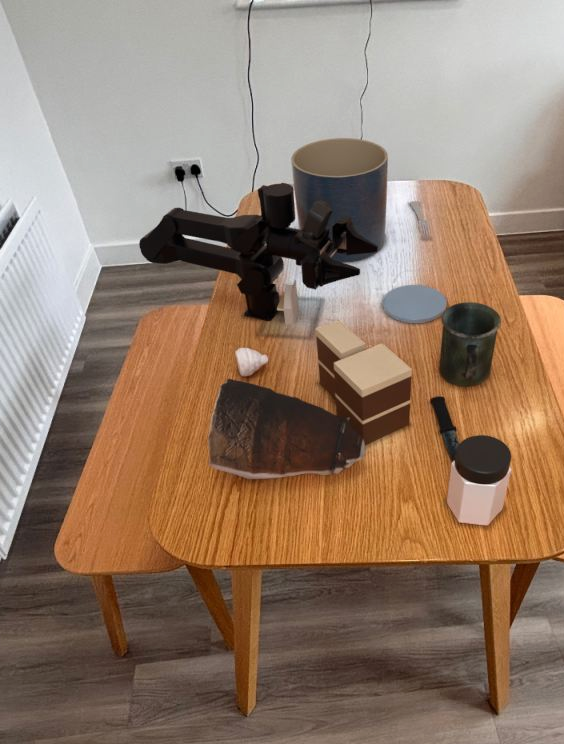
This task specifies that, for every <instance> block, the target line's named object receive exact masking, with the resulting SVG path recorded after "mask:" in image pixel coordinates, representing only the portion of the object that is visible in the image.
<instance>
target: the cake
mask: <svg viewBox="0 0 564 744" xmlns="http://www.w3.org/2000/svg"><path fill="white" fill-rule="evenodd" d="M412 374H413V369H412V368H411V366H410V365H408V364H407V363H405V362H404V361H403V360H402V359H401V358H400V357H399V356H398V355H396V354H395V353H394V352H393V351H392V350H391V349H389V347H388V346H386V345H385V344H384V343H382V342H381V343H379V344H376V345H374V346H371V347H369V348H367V349H366V348H365V350H364V351H361V352H359V353H356V354H354V355H351V356H349V357H346V358H344V359H341V360H339V361H336V362H334V378H335V396H336V400H335V408H336V409H335V410H336V416H338V417H339V418H345V417H350V419H349V425H350V426H351V427H352V428H354V429H355V430H356V431H357V432H358V434H359V435H360V436H361V437H362V438H363V440H364V443H365V446H366V445H369V444H371V443H373V442H375V441H377V440H379V439H382V438H384V437H387V436H388V435H390V434H393V433H394V432H397V431H400V430H401V429H404V428H405V427H408V426H410V413H411V396H412V395H411V394H412V376H413V375H412Z"/></svg>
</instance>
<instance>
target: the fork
mask: <svg viewBox="0 0 564 744" xmlns="http://www.w3.org/2000/svg"><path fill="white" fill-rule="evenodd" d="M409 204H410V207H411V208H412V209H413V211H414V212H415V214H416V216H417V219H418V220H416V221H417V223H418V227H419V230H420V233H421V234H420V235H421V238H422V239H424V240H425V241H426V240H428V239H429V240H431V231H430V221H429V220H428V219H423V218H422V217H423V216H422V214H421V206H420V205H421V204H420V203H419V201H410V202H409Z"/></svg>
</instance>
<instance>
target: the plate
mask: <svg viewBox="0 0 564 744" xmlns="http://www.w3.org/2000/svg"><path fill="white" fill-rule="evenodd" d="M447 303H448V301H447V298H446V296H445V295H444V294H443V293H442V292H441V291H440V290H438V289H436V288H434V287H431V286H427V285H422V284H407V285H401V286H398V287H395V288H393V289H391V290H389V291H388V292H386V294H385V296H384V297H383V300H382V307H383V310H384V312H385V314H386V315H387V316H388V317H390V318H391V319H393V320H395V321H399V322H402V323H407V324H423V323H428V322H432V321H434V320H437V319H438V318H440V317H442V314H443V312H444V311H445V310H446V309H447Z"/></svg>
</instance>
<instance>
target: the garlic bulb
mask: <svg viewBox="0 0 564 744" xmlns="http://www.w3.org/2000/svg"><path fill="white" fill-rule="evenodd" d="M234 354H235V359H236V363H237V367H238V371H239V374H240V376H241V377H243V378H244V377H245V378H246V377H249V376H252V375H253V374H254V373H256V371H259V369H260V368H261V367H263V366H264V365H266V364H268V362H269V357H268V355H267V354H261V353H260V352H259V351H257V350H255V349H252V348H250V347H239V348H238V349H237V350H236V351H234Z"/></svg>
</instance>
